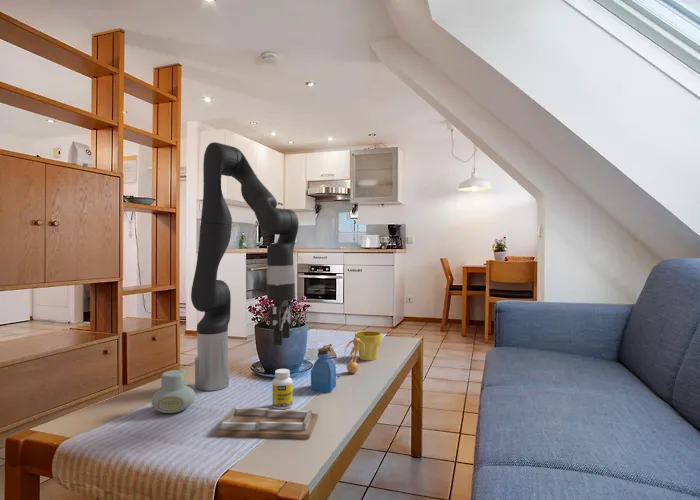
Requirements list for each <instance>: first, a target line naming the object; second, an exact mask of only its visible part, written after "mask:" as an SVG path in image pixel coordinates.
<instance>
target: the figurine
mask: <svg viewBox="0 0 700 500" xmlns="http://www.w3.org/2000/svg"><path fill="white" fill-rule="evenodd" d="M352 343H353V347H352V349H351V350H350V352H349V353H350V354H349V355H350V356H351V359H350V360H349V362H348V363H347V364H346V369H347V372H349V373H350V374H355V373H357V372H358V370H359V364H358V363H357V358H358V354H359V352H358V351H359V348H358V346H359V344H360V343H361V344H362V345H363V349H364V350H363V353H365V345H364V343H363V342H361V341H360V339H359V338H356V337H355V336H354V337H353V339H352V340H350V341H349V342H348V343H347V344H346V346H345V348H344V350H346V349H347V348H348V347H349V346H350V344H352ZM354 357H355V358H354Z"/></svg>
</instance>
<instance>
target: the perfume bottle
mask: <svg viewBox="0 0 700 500" xmlns="http://www.w3.org/2000/svg"><path fill="white" fill-rule="evenodd" d="M329 357H330V353H329V348H327V347H325V348H323V347H322V348H318V349H317V359H316V360H315V361H314V363H313V366H312V368H311V370H310V391H311V392H316V393H317V392H318V393H332V392H333V391H334V389H335V388H336V386H337V381H336V379H337V377H336V376H337V373H336V372H337V371H336V367H337V366H336V364H335V362H334V361H333V359H332V358H329Z"/></svg>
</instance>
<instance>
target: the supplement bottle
mask: <svg viewBox="0 0 700 500" xmlns="http://www.w3.org/2000/svg"><path fill="white" fill-rule="evenodd" d="M290 371H291V370H290V369H287V368H278V369H275V371H274V376H275V378H273V379H272V382H271V383H272V408H274V410H288V409H289V408H292V406H293V379H292V378H291V377H290V375H291V372H290Z"/></svg>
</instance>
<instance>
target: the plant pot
mask: <svg viewBox="0 0 700 500" xmlns="http://www.w3.org/2000/svg"><path fill="white" fill-rule="evenodd" d="M382 336H383V335H382V332H380V331H376V330H359V331H357V332H356V331H355V333H354V337H356V338H359V339H360V341H361V342H363V343H364V345H365V353H363V350H364V349H363V345H362V344H361V343H360V344H359V346H358V348H359V351H358V356H359V357H358V358H359V359H360V360H361V361H366V362H367V361H375V360H377V358H378V353H379V351H380V350H379V349H380V345H381V344H382V341H383V340H382V339H383V338H382Z"/></svg>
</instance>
